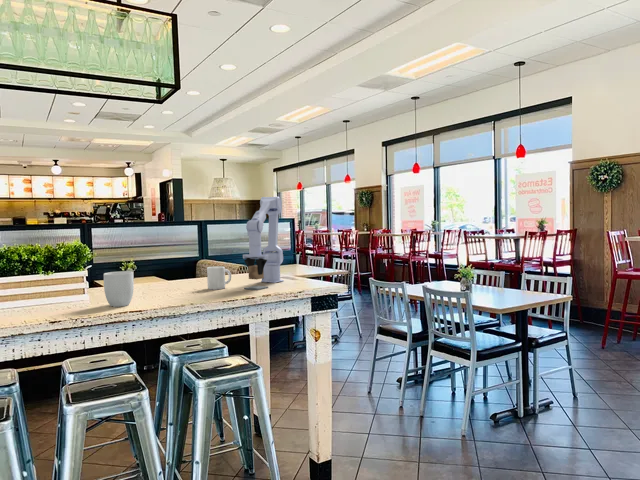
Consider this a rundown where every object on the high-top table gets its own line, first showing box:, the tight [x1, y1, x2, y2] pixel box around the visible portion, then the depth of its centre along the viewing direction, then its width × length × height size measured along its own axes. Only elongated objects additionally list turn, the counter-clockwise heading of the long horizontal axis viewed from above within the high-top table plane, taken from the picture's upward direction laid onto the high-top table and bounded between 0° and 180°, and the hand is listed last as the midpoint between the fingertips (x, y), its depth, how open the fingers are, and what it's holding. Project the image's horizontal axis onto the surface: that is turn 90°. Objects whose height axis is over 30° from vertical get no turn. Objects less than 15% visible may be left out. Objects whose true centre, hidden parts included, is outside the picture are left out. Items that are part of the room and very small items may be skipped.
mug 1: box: [103, 270, 135, 308], centre depth 194 cm, size 15×11×13 cm
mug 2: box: [206, 265, 232, 291], centre depth 234 cm, size 12×8×10 cm
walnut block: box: [247, 264, 264, 280], centre depth 230 cm, size 5×5×6 cm
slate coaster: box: [244, 285, 269, 291], centre depth 230 cm, size 8×8×1 cm
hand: (255, 274), depth 230 cm, fingers closed on walnut block, 5 cm apart
